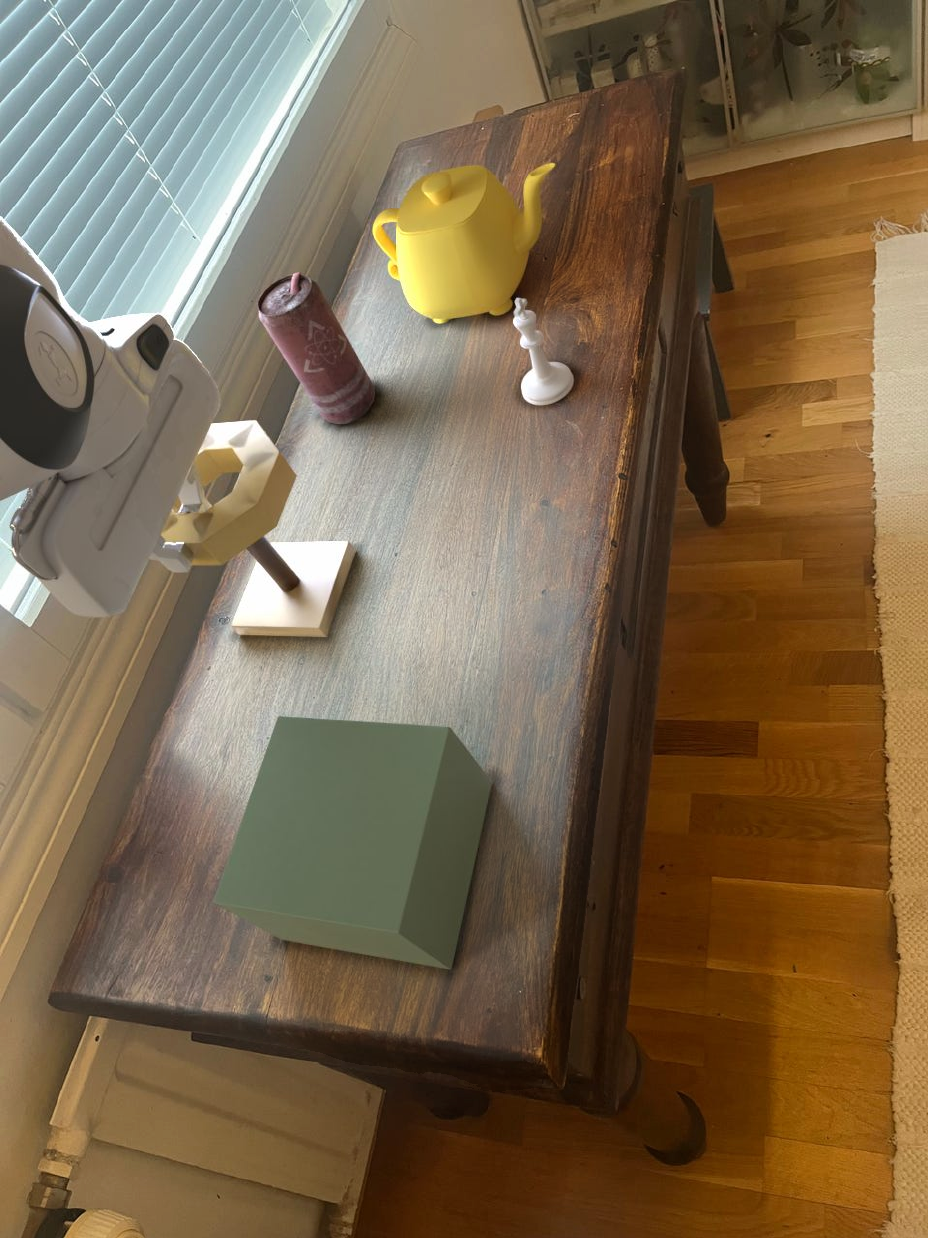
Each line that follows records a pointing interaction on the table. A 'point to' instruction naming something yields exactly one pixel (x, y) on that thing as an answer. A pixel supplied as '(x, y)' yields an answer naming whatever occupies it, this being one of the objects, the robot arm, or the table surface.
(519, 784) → the table surface
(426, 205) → the teapot
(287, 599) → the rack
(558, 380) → the chess piece
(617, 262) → the table surface
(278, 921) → the plinth
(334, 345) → the can
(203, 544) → the brass ring
